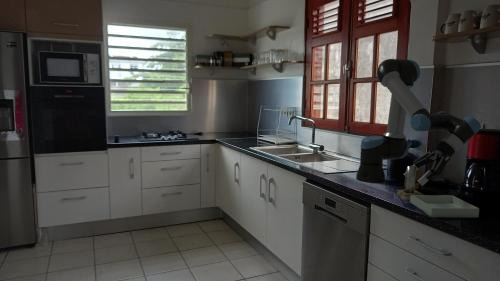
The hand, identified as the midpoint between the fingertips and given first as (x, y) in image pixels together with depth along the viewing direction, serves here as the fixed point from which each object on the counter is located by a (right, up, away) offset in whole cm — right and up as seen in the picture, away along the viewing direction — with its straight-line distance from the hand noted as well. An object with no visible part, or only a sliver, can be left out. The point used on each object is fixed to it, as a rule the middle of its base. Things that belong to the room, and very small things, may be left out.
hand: (412, 179), depth 161 cm
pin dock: (0, -8, +2) cm, 9 cm away
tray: (+6, -11, -14) cm, 18 cm away
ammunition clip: (+6, -7, +15) cm, 18 cm away
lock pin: (0, -8, +2) cm, 8 cm away
